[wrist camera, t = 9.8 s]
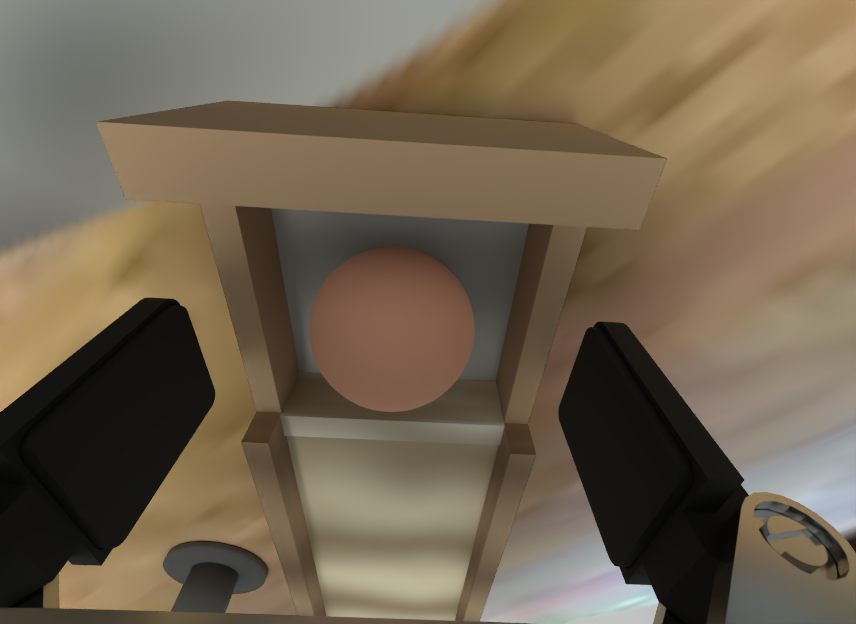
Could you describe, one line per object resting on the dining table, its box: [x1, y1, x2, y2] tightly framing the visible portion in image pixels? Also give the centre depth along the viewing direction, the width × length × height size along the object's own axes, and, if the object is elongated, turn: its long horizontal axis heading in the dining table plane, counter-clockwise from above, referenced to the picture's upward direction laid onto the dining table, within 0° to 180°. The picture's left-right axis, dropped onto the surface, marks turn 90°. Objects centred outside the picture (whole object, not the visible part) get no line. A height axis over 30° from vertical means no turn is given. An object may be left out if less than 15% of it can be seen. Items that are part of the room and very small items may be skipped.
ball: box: [309, 247, 475, 412], centre depth 10 cm, size 4×4×4 cm
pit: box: [96, 101, 667, 424], centre depth 10 cm, size 9×9×4 cm
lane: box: [241, 372, 536, 622], centre depth 18 cm, size 18×9×4 cm, turn 177°
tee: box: [163, 542, 267, 613], centre depth 22 cm, size 6×6×3 cm
